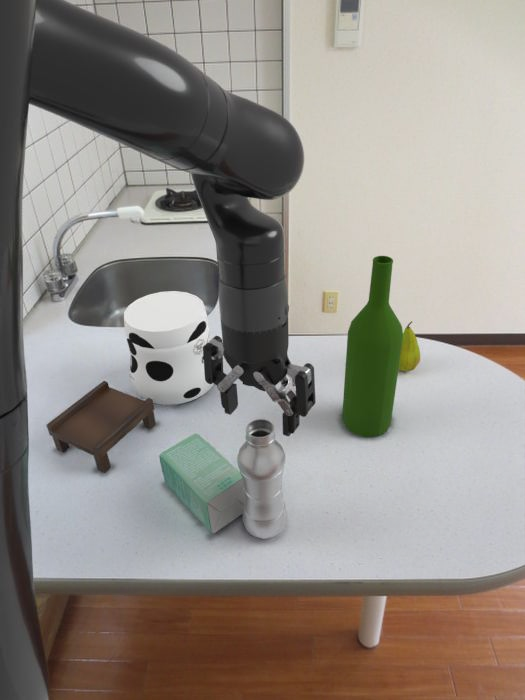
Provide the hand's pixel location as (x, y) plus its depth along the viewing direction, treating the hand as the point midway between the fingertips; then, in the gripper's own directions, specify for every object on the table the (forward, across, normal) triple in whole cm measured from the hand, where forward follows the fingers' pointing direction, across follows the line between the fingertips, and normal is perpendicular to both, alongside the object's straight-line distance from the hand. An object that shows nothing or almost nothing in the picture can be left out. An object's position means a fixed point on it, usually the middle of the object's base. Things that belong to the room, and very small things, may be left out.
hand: (259, 420), depth 67 cm
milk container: (+22, -33, +21) cm, 45 cm away
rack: (+21, -35, +3) cm, 41 cm away
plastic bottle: (+22, 0, 0) cm, 22 cm away
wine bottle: (+22, +5, +29) cm, 36 cm away
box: (+22, -11, 0) cm, 24 cm away
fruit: (+22, +6, +48) cm, 53 cm away
